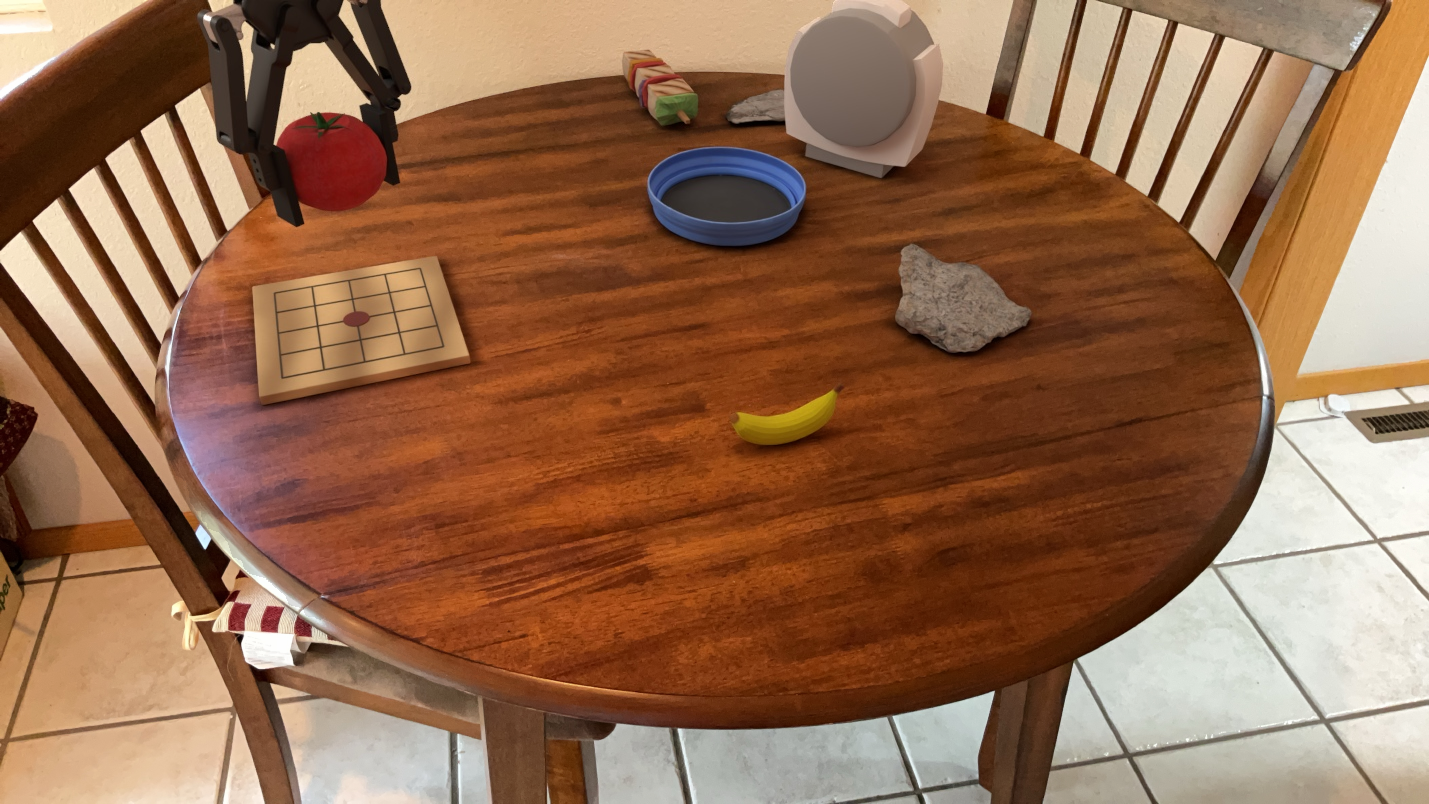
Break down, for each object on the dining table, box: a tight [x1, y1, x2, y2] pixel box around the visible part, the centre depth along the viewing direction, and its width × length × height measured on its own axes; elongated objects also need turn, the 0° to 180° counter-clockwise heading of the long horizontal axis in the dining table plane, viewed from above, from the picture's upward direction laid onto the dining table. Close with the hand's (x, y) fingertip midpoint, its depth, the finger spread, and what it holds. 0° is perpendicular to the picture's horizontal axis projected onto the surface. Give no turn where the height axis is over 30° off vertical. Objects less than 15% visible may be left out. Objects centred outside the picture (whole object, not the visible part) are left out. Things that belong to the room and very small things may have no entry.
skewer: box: [621, 49, 699, 127], centre depth 132 cm, size 21×6×5 cm, turn 22°
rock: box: [894, 243, 1032, 354], centre depth 98 cm, size 14×4×15 cm
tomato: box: [275, 111, 387, 212], centre depth 80 cm, size 9×9×8 cm
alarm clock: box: [783, 0, 944, 179], centre depth 117 cm, size 18×8×20 cm, turn 59°
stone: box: [725, 88, 786, 125], centre depth 135 cm, size 21×10×1 cm, turn 103°
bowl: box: [646, 146, 807, 247], centre depth 112 cm, size 18×18×4 cm
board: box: [251, 255, 471, 406], centre depth 93 cm, size 18×18×1 cm
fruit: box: [729, 382, 845, 446], centre depth 82 cm, size 10×2×5 cm, turn 110°
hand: (340, 198), depth 83 cm, fingers closed on tomato, 9 cm apart
